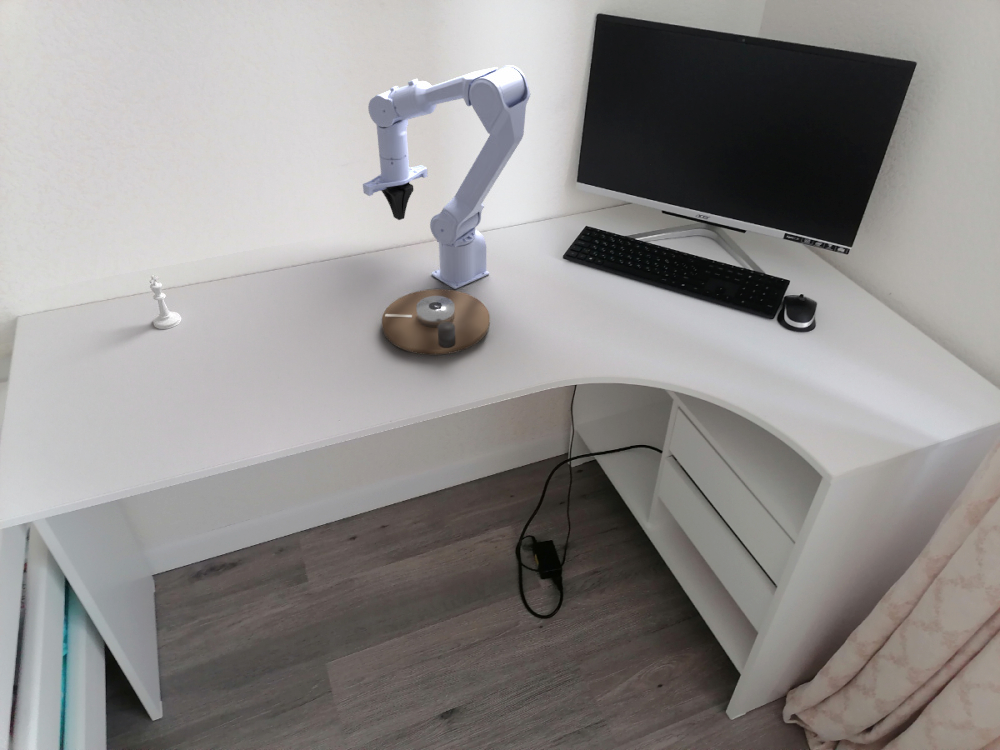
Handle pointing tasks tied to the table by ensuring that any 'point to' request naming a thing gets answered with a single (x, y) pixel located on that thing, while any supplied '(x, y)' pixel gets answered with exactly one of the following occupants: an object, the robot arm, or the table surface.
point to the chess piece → (163, 308)
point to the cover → (435, 311)
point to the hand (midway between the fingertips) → (398, 217)
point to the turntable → (445, 338)
